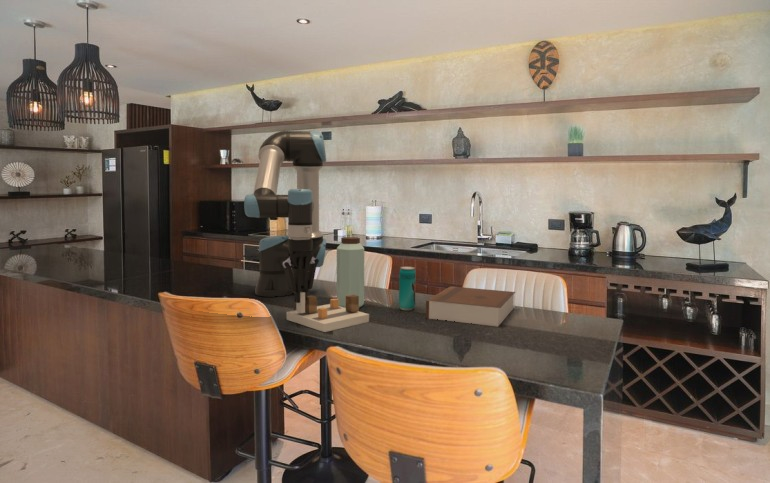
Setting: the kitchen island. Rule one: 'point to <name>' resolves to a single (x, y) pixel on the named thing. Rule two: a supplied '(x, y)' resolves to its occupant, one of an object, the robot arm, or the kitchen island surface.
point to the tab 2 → (352, 303)
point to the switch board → (328, 317)
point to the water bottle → (350, 270)
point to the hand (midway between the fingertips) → (300, 312)
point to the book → (470, 305)
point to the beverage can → (407, 288)
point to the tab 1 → (311, 304)
